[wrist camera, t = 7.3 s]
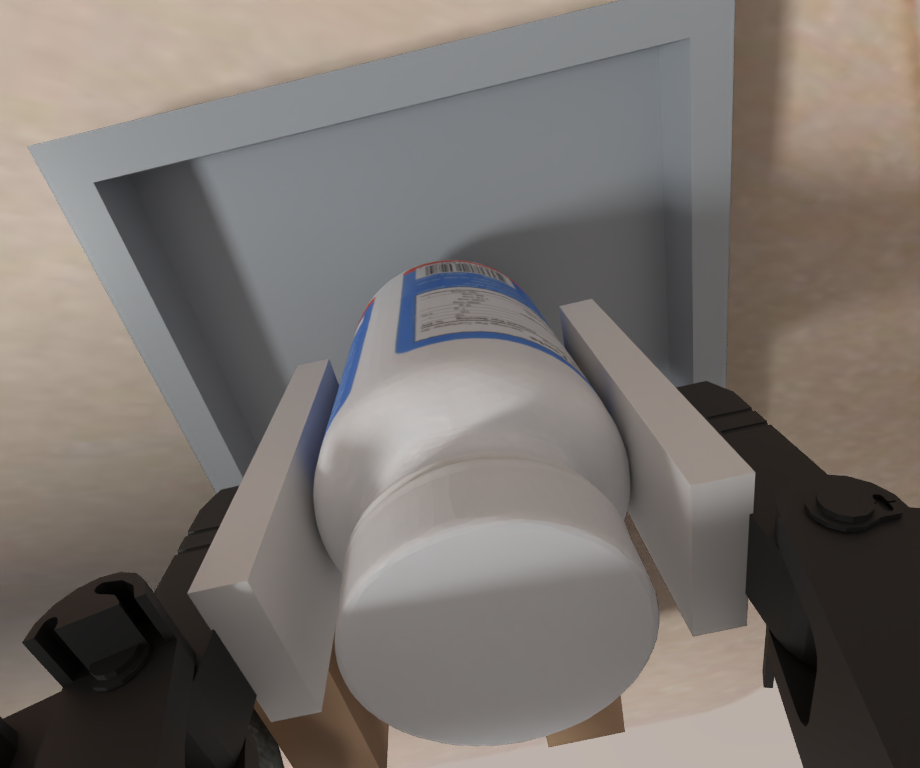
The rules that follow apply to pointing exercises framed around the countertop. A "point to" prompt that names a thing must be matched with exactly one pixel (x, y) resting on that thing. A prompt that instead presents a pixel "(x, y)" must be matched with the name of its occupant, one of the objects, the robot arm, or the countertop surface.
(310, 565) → the robot arm
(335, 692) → the slot holder
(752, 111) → the countertop surface
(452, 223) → the tray
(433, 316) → the pill bottle
